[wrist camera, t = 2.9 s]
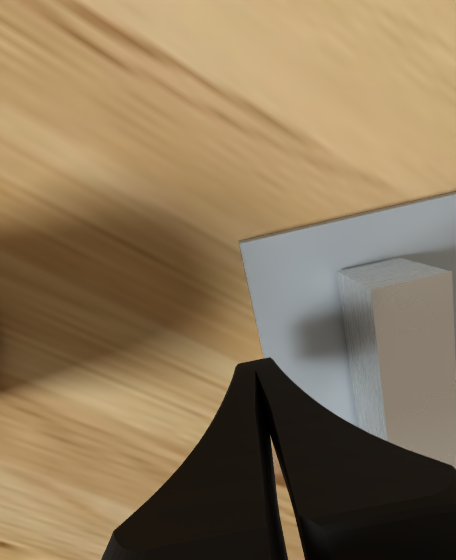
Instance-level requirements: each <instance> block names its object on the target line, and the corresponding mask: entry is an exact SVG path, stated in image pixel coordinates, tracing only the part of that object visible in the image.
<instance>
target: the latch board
mask: <svg viewBox="0 0 456 560" xmlns="http://www.w3.org/2000/svg"><path fill="white" fill-rule="evenodd" d="M239 246H240V250H241V255H242V260H243V264H244V269H245V273H246V278H247V283H248V287H249V292H250V296H251V301H252V306H253V310H254V315H255V319H256V324H257V329H258V333H259V338H260V342H261V347H262V352H263V356H264V358H269V357H270V358H272V359H273V360H274V361H275V363H276V364H277V365H278V366H279V368H280V369H281V370H282V371H283V372H284V373H285V374H286V375H287V376H288V377H289V378H290V379H291V380H292V381H293V382H294V383H295V384H296V385H297V386H299V387H300V388H301V389H302V390H303V391H304V392H305V393H307V394H308V395H309V396H310V397H312V398H313V399H314V400H316V401H317V402H318V403H320V404H321V405H322V406H324V407H325V408H327V409H328V410H330V411H331V412H333V413H334V414H336V415H337V416H339V417H341V418H342V419H344V420H345V421H347V422H349V423H351V424H353V425H355V426H357V427H358V421H357V414H356V407H355V400H354V392H353V385H352V378H351V371H350V363H349V356H348V349H347V342H346V334H345V327H344V320H343V312H342V305H341V298H340V291H339V283H338V276H337V271H341V270H345V269H350V268H354V267H359V266H363V265H368V264H372V263H377V262H381V261H386V260H390V259H395V258H402V259H406V260H410V261H414V262H418V263H421V264H425V265H429V266H433V267H437V268H440V269H444V270H448V271H452V280H453V307H454V333H455V360H456V191H455V192H451V193H446V194H442V195H438V196H433V197H429V198H425V199H420V200H416V201H412V202H407V203H403V204H398V205H394V206H390V207H385V208H381V209H377V210H372V211H368V212H364V213H359V214H355V215H350V216H346V217H342V218H337V219H333V220H329V221H324V222H320V223H316V224H311V225H307V226H302V227H298V228H294V229H289V230H285V231H281V232H276V233H272V234H268V235H263V236H259V237H254V238H250V239H246V240H241V241H239Z"/></svg>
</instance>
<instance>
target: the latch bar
mask: <svg viewBox="0 0 456 560" xmlns="http://www.w3.org/2000/svg"><path fill="white" fill-rule="evenodd" d="M337 276H338V283H339V291H340V298H341V305H342V312H343V320H344V327H345V334H346V342H347V349H348V356H349V363H350V371H351V378H352V385H353V392H354V400H355V407H356V414H357V421H358V427H359V428H361V429H362V430H364V431H366V432H368V433H370V434H372V435H375V436H377V437H379V438H381V439H383V440H386V441H388V442H390V443H393V444H395V445H397V446H400V447H402V448H405V449H407V450H410V451H413V452H415V453H418V454H421V455H424V456H427V457H430V458H432V459H435V460H438V461H441V462H444V463H446V464H449V465H452V466H453V467H454V468H455V469H456V360H455V333H454V307H453V280H452V271H448V270H444V269H440V268H437V267H433V266H429V265H425V264H421V263H418V262H414V261H410V260H406V259H402V258H395V259H390V260H386V261H381V262H377V263H372V264H368V265H363V266H359V267H354V268H350V269H345V270H341V271H337Z"/></svg>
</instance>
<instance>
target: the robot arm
mask: <svg viewBox="0 0 456 560" xmlns="http://www.w3.org/2000/svg"><path fill="white" fill-rule="evenodd" d="M270 435H271V438H272V442H273V445H274V448H275V451H276V454H277V458H278V461H279V464H280V467H281V470H282V473H283V477H284V480H285V483H286V486H287V489H288V492H289V496H290V499H291V503H292V506H293V510H294V514H295V518H296V522H297V526H298V531H299V535H300V539H301V544H302V548H303V552H304V557H305V560H456V469H455V468H454V467H453V466H452V465H449V464H446V463H444V462H441V461H438V460H435V459H432V458H430V457H427V456H424V455H421V454H418V453H415V452H413V451H410V450H407V449H405V448H402V447H400V446H397V445H395V444H393V443H390V442H388V441H386V440H383V439H381V438H379V437H377V436H375V435H372V434H370V433H368V432H366V431H364V430H362V429H361V428H359V427H357V426H355V425H353V424H351V423H349V422H347V421H345V420H344V419H342V418H341V417H339V416H337V415H336V414H334V413H333V412H331V411H330V410H328V409H327V408H325V407H324V406H322V405H321V404H320V403H318V402H317V401H316V400H314V399H313V398H312V397H310V396H309V395H308V394H307V393H305V392H304V391H303V390H302V389H301V388H300V387H299V386H297V385H296V384H295V383H294V382H293V381H292V380H291V379H290V378H289V377H288V376H287V375H286V374H285V373H284V372H283V371H282V370H281V369H280V368H279V366H278V365H277V364H276V363H275V361H274V360H273V359H272V358H270V357H269V358H264V359H259V360H255V361H250V362H245V363H240V364H238V365H237V366H236V367H235V371H234V375H233V378H232V381H231V383H230V386H229V388H228V390H227V393H226V395H225V397H224V400H223V402H222V404H221V406H220V408H219V410H218V411H217V413H216V415H215V417H214V419H213V421H212V422H211V424H210V426H209V427H208V429H207V431H206V432H205V434H204V435H203V437H202V438H201V440H200V441H199V443H198V444H197V445H196V447H195V448H194V449H193V451H192V452H191V453H190V455H189V456H188V457H187V458H186V460H185V461H184V462H183V464H182V465H181V466H180V467H179V468H178V469H177V470H176V472H175V473H174V474H173V475H172V476H171V477H170V478H169V479H168V480H167V481H166V482H165V484H164V485H163V486H162V487H161V488H160V489H159V490H158V491H157V492H156V493H155V494H154V495H153V496H152V497H151V498H150V499H149V500H148V501H147V502H145V503H144V504H143V505H142V506H141V507H140V508H139V509H138V510H137V511H136V512H134V513H133V514H132V515H131V516H130V517H129V518H128V519H127V520H126V521H125V522H123V523H122V524H121V525H120V526H119V527H118V528H116V529H115V530H114V531H113V534H112V536H111V539H110V541H109V543H108V545H107V548H106V550H105V552H104V554H103V557H102V559H101V560H288V557H287V552H286V547H285V542H284V536H283V531H282V526H281V521H280V515H279V508H278V501H277V493H276V484H275V475H274V466H273V457H272V448H271V439H270Z"/></svg>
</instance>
